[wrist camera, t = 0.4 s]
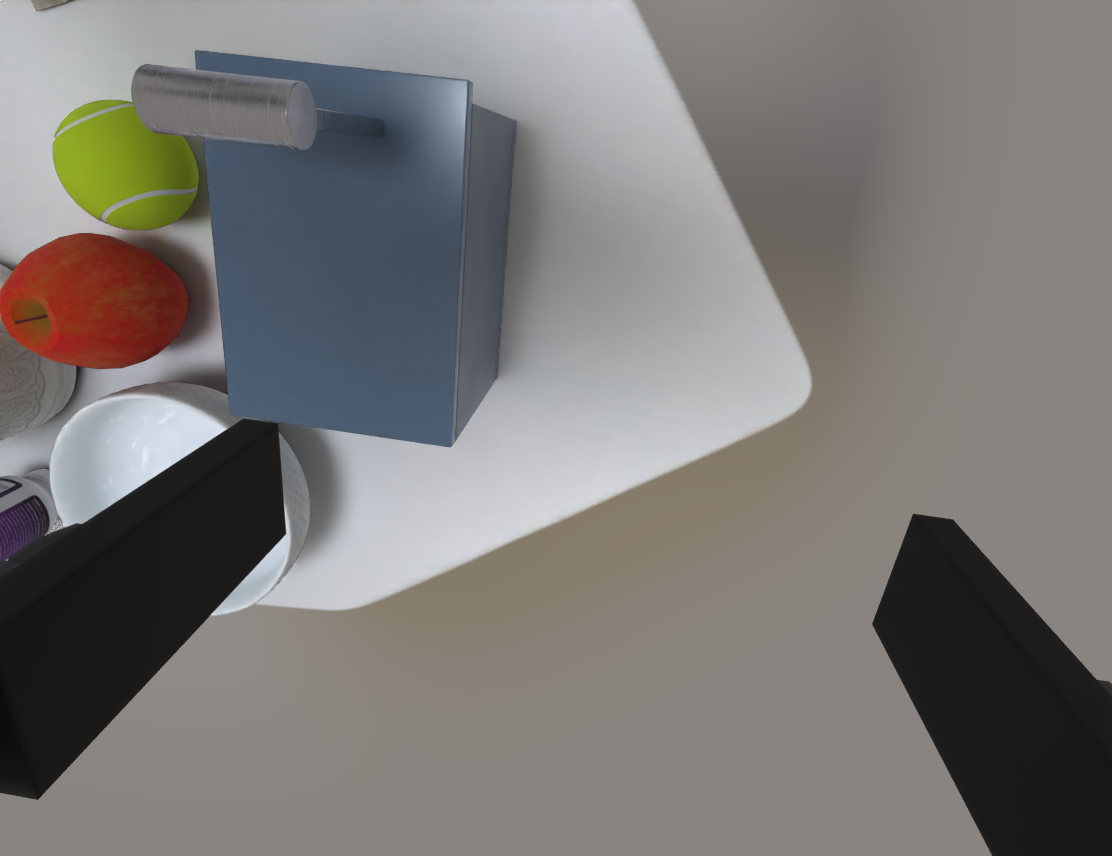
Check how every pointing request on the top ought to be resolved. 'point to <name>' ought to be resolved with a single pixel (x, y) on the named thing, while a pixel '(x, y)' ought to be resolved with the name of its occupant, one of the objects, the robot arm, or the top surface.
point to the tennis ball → (124, 167)
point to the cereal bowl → (163, 464)
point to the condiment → (46, 3)
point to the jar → (29, 383)
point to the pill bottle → (25, 510)
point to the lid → (330, 235)
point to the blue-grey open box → (484, 257)
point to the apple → (93, 302)
